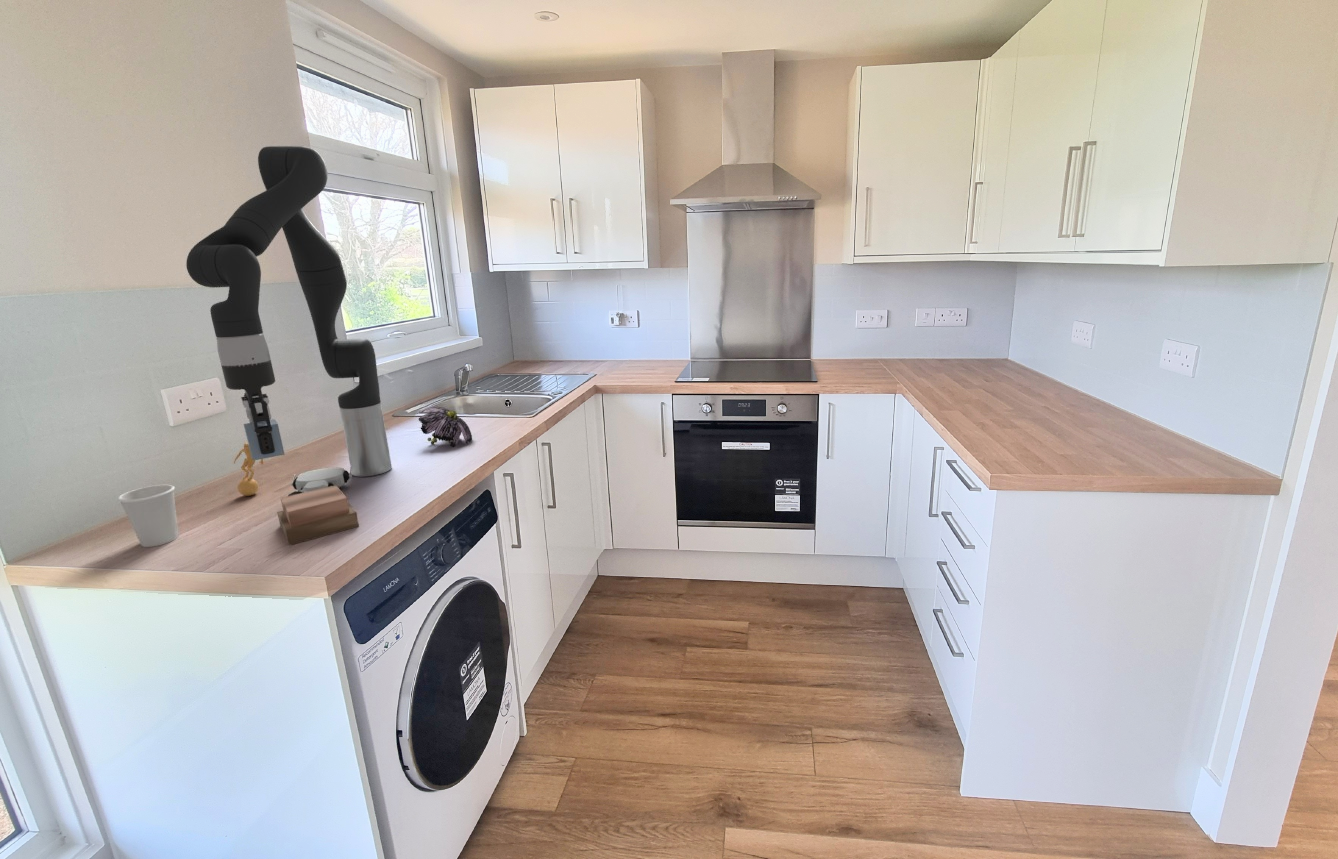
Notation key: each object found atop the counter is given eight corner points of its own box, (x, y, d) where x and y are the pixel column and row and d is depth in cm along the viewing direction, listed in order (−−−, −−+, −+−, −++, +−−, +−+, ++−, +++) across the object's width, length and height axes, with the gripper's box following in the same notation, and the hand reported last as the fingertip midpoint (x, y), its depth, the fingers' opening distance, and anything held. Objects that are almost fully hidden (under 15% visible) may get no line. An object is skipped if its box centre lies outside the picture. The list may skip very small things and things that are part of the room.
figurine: (228, 497, 141) (215, 447, 137) (251, 488, 146) (240, 439, 143) (256, 499, 138) (244, 448, 135) (279, 489, 144) (268, 441, 141)
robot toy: (346, 505, 135) (355, 480, 148) (342, 487, 133) (351, 462, 147) (283, 515, 131) (298, 487, 145) (278, 496, 130) (294, 470, 143)
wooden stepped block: (280, 525, 123) (273, 497, 121) (345, 509, 130) (340, 482, 128) (289, 545, 114) (282, 515, 112) (358, 526, 121) (353, 498, 119)
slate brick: (250, 454, 116) (243, 423, 114) (281, 448, 119) (274, 418, 117) (253, 460, 112) (245, 429, 110) (284, 454, 115) (277, 423, 113)
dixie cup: (124, 553, 113) (109, 503, 111) (141, 536, 121) (127, 489, 118) (179, 544, 116) (166, 494, 114) (192, 528, 124) (180, 481, 121)
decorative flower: (449, 418, 165) (412, 398, 171) (436, 458, 167) (400, 437, 173) (487, 420, 178) (451, 402, 184) (475, 457, 180) (440, 437, 186)
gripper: (274, 361, 107) (294, 454, 112) (266, 353, 118) (285, 438, 123) (222, 367, 103) (245, 463, 107) (219, 358, 114) (240, 446, 118)
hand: (266, 449), depth 115 cm, fingers closed on slate brick, 5 cm apart
